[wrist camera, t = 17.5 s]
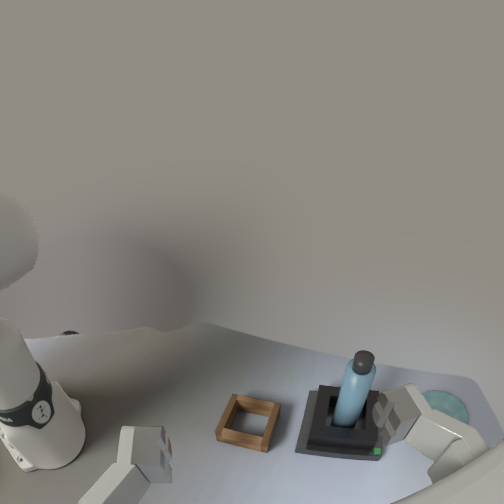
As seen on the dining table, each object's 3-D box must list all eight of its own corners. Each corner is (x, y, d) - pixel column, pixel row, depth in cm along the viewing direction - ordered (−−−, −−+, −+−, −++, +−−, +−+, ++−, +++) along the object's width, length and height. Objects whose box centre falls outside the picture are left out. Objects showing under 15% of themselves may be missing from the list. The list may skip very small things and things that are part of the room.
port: (294, 452, 39) (297, 438, 37) (308, 395, 49) (311, 379, 47) (378, 460, 35) (387, 447, 33) (380, 403, 46) (387, 387, 44)
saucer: (474, 423, 37) (479, 415, 36) (436, 463, 32) (441, 456, 31) (432, 388, 47) (436, 380, 46) (391, 420, 42) (395, 413, 41)
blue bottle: (329, 431, 40) (348, 366, 34) (332, 411, 44) (349, 345, 38) (354, 433, 39) (380, 369, 33) (356, 414, 43) (379, 348, 36)
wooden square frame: (217, 440, 41) (214, 431, 40) (233, 404, 48) (232, 393, 47) (267, 452, 39) (267, 443, 38) (279, 413, 46) (280, 403, 45)
